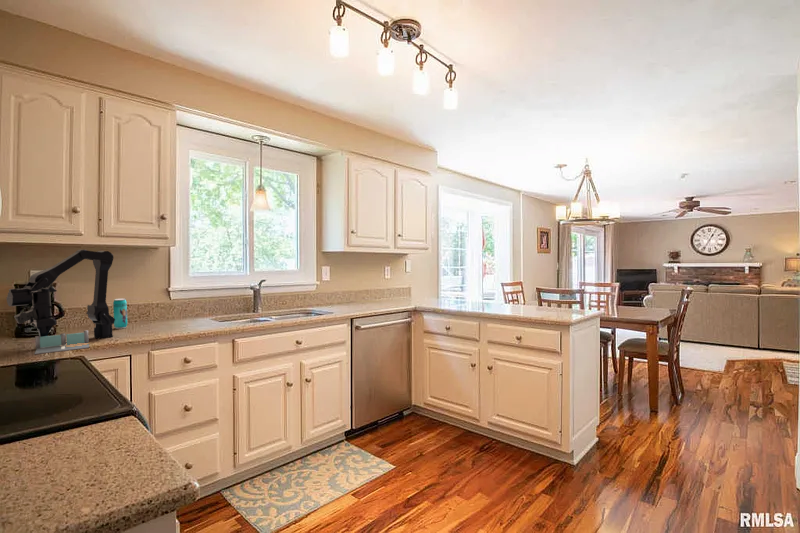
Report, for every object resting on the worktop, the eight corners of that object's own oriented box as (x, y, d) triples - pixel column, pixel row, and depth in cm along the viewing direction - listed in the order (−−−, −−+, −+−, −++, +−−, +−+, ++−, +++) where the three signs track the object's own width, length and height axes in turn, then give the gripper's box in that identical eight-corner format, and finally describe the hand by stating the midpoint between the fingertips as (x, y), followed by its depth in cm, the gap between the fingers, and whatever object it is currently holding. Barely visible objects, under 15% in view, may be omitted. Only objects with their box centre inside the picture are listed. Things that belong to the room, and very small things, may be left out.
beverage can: (120, 329, 214) (119, 299, 213) (111, 328, 215) (110, 299, 214) (130, 327, 219) (129, 298, 219) (120, 326, 221) (119, 298, 220)
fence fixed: (88, 342, 182) (88, 330, 182) (88, 342, 181) (88, 330, 181) (66, 344, 178) (66, 332, 178) (66, 345, 177) (66, 333, 176)
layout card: (88, 340, 187) (88, 339, 187) (89, 347, 173) (89, 346, 173) (37, 346, 177) (37, 345, 177) (34, 354, 163) (34, 353, 163)
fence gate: (65, 344, 178) (65, 333, 178) (65, 344, 176) (65, 333, 176) (35, 347, 172) (35, 336, 172) (35, 348, 171) (35, 336, 170)
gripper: (11, 303, 174) (13, 341, 175) (19, 307, 162) (21, 347, 163) (46, 301, 183) (48, 336, 183) (56, 304, 171) (57, 342, 171)
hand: (43, 341), depth 175 cm, fingers closed
